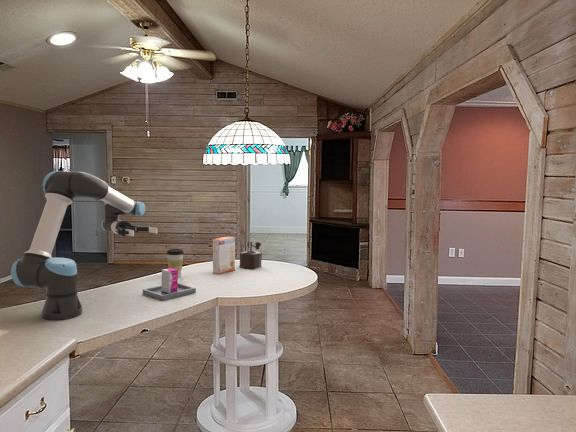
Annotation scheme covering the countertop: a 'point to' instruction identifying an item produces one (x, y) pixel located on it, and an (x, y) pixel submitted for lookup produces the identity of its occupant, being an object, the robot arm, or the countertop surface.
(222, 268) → the cracker box
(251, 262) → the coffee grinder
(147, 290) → the tray
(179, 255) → the coffee cup
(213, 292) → the countertop surface
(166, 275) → the supplement box
